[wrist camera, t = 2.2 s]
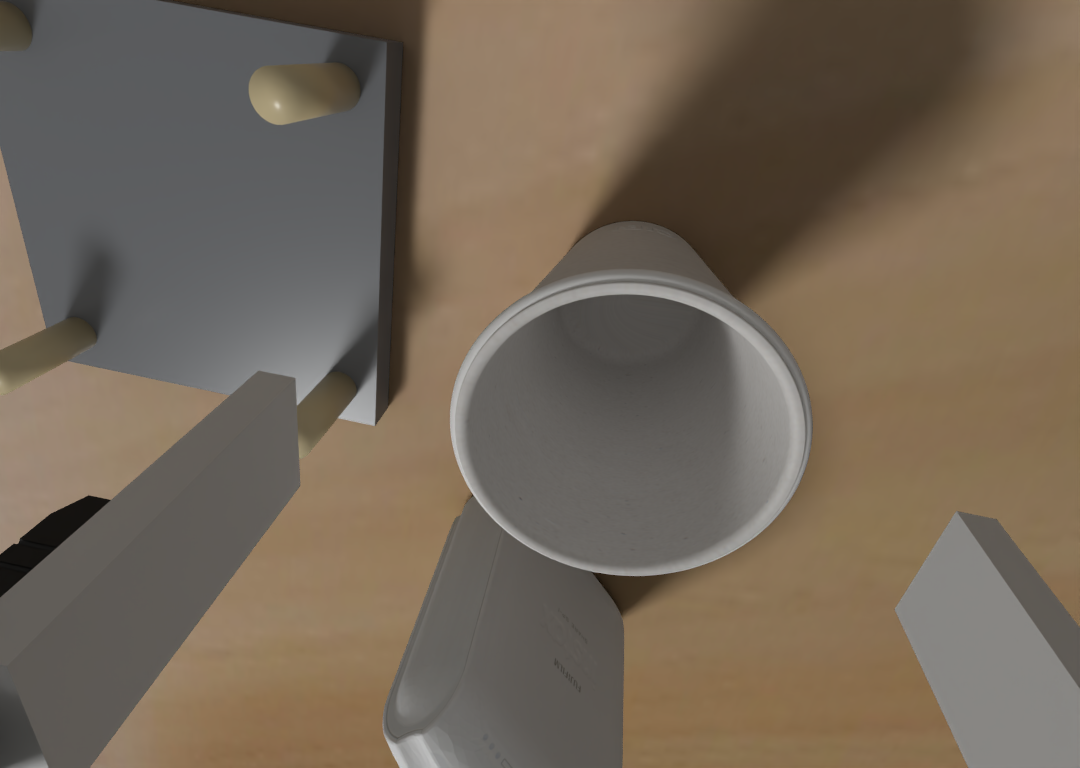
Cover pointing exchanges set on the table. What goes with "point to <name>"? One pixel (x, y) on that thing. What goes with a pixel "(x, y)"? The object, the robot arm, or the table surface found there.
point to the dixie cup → (631, 411)
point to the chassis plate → (204, 198)
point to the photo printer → (508, 661)
